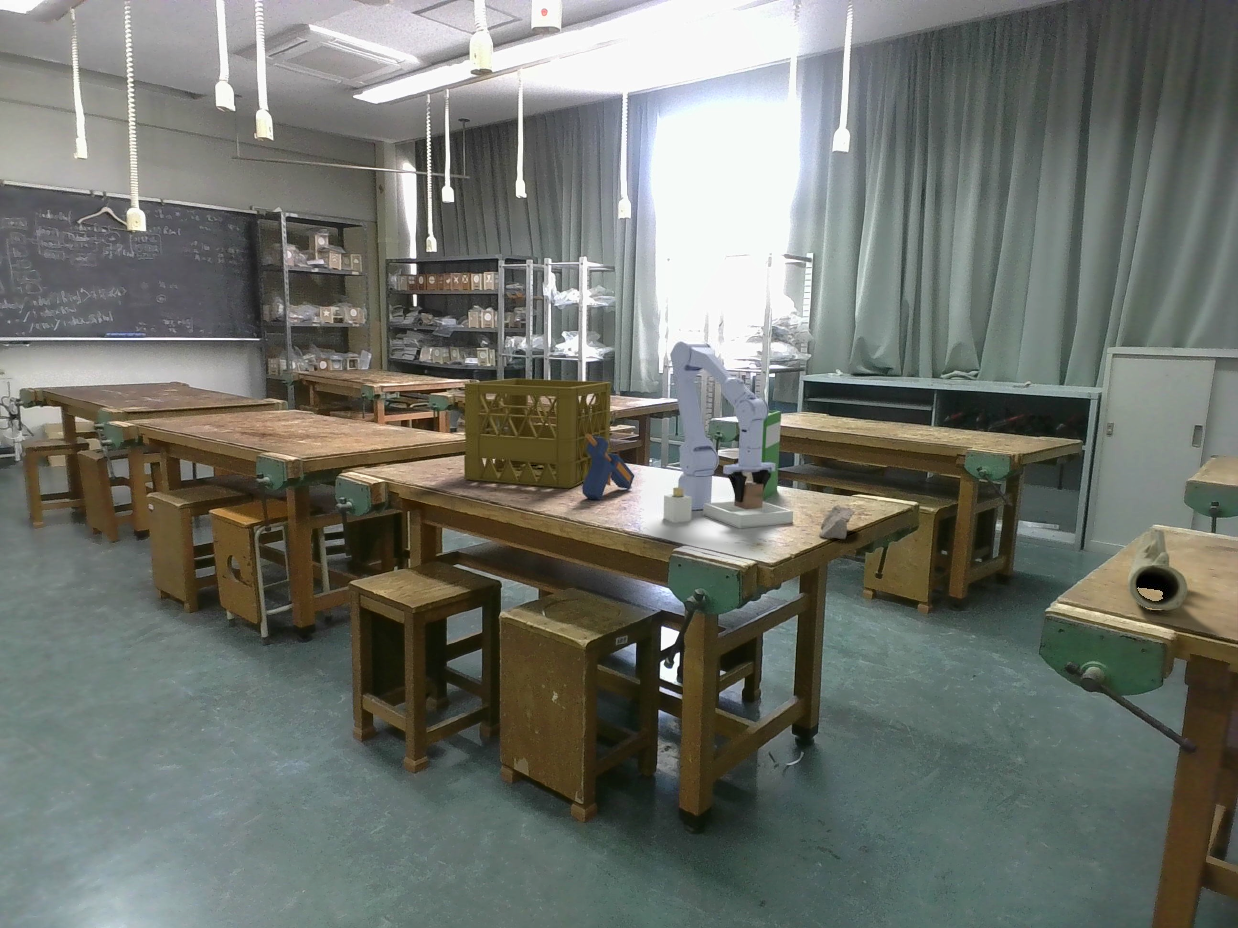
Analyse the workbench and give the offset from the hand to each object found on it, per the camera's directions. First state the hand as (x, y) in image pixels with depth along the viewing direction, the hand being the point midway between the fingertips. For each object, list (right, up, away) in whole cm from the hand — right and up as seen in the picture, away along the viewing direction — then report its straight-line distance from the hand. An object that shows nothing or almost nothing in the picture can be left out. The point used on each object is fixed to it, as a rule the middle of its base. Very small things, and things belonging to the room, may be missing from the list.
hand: (748, 500), depth 199 cm
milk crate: (-58, +5, +56) cm, 81 cm away
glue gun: (-35, 0, +29) cm, 45 cm away
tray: (0, -5, +1) cm, 5 cm away
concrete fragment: (+19, -8, -12) cm, 24 cm away
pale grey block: (-18, -5, -2) cm, 19 cm away
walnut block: (0, -2, 0) cm, 2 cm away
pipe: (+64, -15, -53) cm, 85 cm away
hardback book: (+8, 0, +33) cm, 34 cm away
